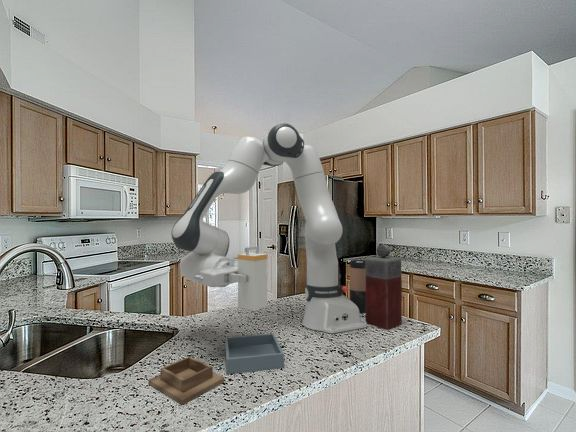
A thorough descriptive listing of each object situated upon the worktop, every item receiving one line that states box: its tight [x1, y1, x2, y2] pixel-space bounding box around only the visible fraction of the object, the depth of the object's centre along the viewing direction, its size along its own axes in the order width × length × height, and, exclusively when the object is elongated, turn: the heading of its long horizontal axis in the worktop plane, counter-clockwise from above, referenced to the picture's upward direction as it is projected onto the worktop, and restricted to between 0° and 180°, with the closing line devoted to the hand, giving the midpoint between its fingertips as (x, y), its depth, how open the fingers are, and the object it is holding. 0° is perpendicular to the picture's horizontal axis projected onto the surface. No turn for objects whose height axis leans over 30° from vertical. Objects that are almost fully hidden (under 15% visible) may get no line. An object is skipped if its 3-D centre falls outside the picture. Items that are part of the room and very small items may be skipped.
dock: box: [147, 356, 226, 406], centre depth 70 cm, size 13×11×4 cm
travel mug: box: [349, 259, 366, 314], centre depth 125 cm, size 8×8×20 cm
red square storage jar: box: [365, 244, 403, 331], centre depth 110 cm, size 9×11×28 cm
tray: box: [224, 333, 285, 375], centre depth 83 cm, size 14×14×4 cm
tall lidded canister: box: [237, 245, 268, 312], centre depth 83 cm, size 6×5×16 cm
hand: (255, 276), depth 82 cm, fingers closed on tall lidded canister, 5 cm apart
